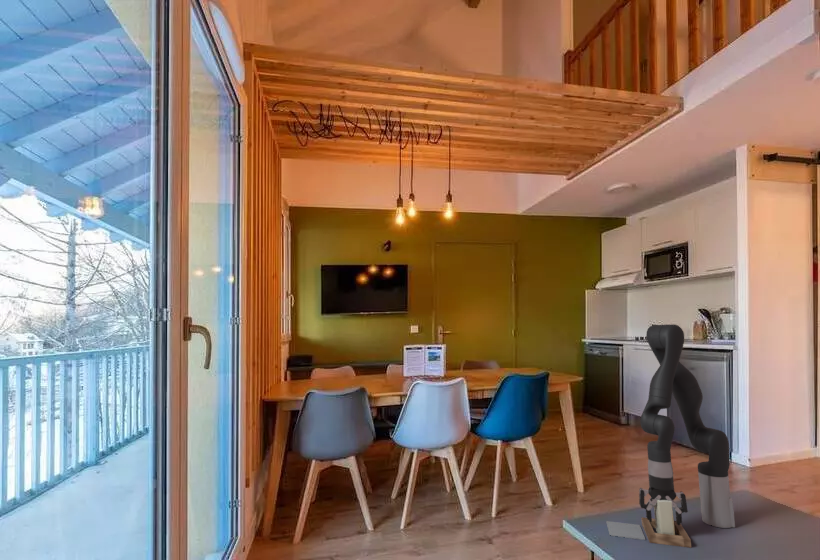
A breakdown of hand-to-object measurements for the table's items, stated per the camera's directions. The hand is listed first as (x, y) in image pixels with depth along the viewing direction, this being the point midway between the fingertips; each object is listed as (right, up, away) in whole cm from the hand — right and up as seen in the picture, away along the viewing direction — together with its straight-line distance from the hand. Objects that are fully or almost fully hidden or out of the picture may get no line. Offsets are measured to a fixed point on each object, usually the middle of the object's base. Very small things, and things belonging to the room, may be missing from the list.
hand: (664, 522), depth 151 cm
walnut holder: (0, -4, 0) cm, 4 cm away
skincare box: (0, -4, 0) cm, 4 cm away
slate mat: (-12, -5, +3) cm, 13 cm away
